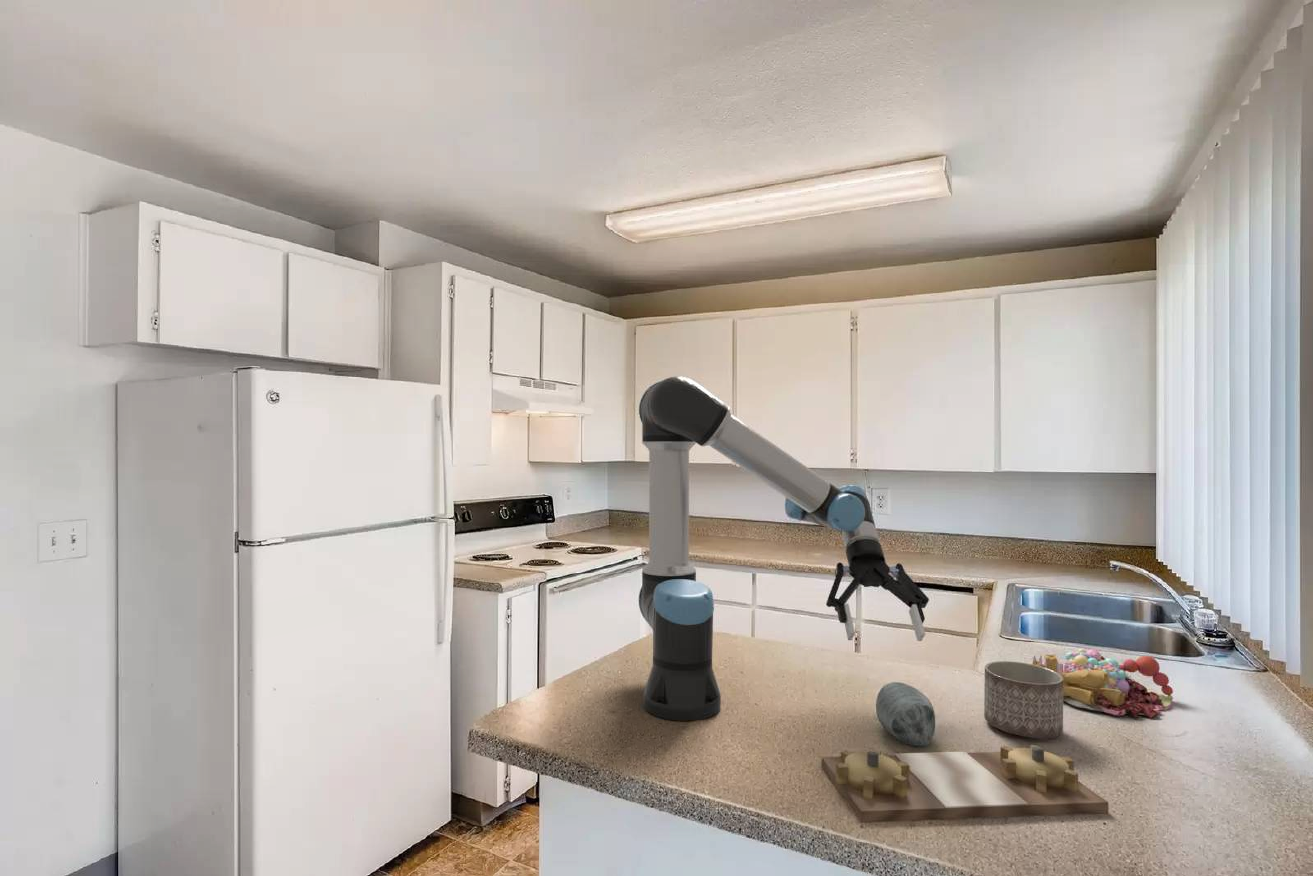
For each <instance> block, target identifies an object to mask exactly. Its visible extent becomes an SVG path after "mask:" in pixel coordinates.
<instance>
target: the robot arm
mask: <svg viewBox="0 0 1313 876" xmlns="http://www.w3.org/2000/svg"><path fill="white" fill-rule="evenodd" d="M638 415H639V418H640V421H641V424H642V427H641V430H642V431H641V432H642V434H641V436H642V437H641V438H642V439H641V441H642V442H641V443H642V444H643V446H644V447H646V448H647V450H648V451H649V453H648V454H649V455H648V456H649V457H648V458H649V459H648V460H649V461H648V462H649V463H648V465H649V466H648V467H649V471H648V472H649V475H648V476H649V477H648V478H649V479H648V481H649V482H648V484H649V486H648V488H649V489H648V493H649V495H648V496H649V497H648V499H649V501H648V502H649V503H648V505H649V508H648V509H649V511H648V517H649V519H648V525H649V526H648V537H649V538H648V540H649V541H648V548H649V549H648V553H649V554H648V555H649V557H648V559H649V560H648V562H647V564H645V565H644V567H643V568H642V569H641V574H642V575H641V587H640V589H639V594H638V606H639V610H640V611H639V612H640V613H641V615H642V617H643V619H644V620H645V621H646V623H647V624H648V626H649V627H650V629H651V630H652V667H651V669H650V671H649V675H648V678H647V681H646V683H645V688H644V689H643V694H642V707H643V709H644V710H645V711H646V712H648V713H649V714H650V715H652V716H655V717H658V718H662V719H666V720H672V721H683V722H684V721H686V722H687V721H698V720H703V719H707V718H710V717H713V716H714V715H716V714H718V713H719V712H720V710H721V705H722V704H721V703H722V700H721V699H722V696H721V693H720V689H719V686H718V682H717V679H716V675H715V672H714V669H713V640H714V639H713V635H714V632H713V631H714V611H715V604H714V595H713V592H712V590H711V588H710V587H709V586H708V585H706V584H704V583H702V582H699V581H697V569H696V568H695V566H694V565H693V564H691V562H690V450H691V449H692V448H693V447H694V446H695V444H697V445H699V446H700V447H706V446H710V447H711V448H712V449H714V450H715V451H717V452H718V453H720V454H721V455H723V456H724V457H726V458H727V459H728V460H730V461H731V462H733V463H735V464H736V465H737V466H739V467H740V468H742V469H743V470H745V471H746V472H747V473H749V474H750V475H753V476H754V477H755V478H757V479H758V480H760V482H763V483H764V484H766V485H767V486H769V487H770V488H772V489H773V490H775V491H776V492H778V493H779V494H781V495H782V496H784V497H785V502H784V511H785V514H786V515H787V517H788V518H790V519H792V520H798V521H799V522H801V521H803V522H807V523H812V524H815V525H820V526H824V527H826V528H830V529H833V530H835V531H837V532H840V534H841V536H842V542H843V546H844V549H845V556H846V560H847V563H848V565H844V564H843V563H842V562H837V564H836V567H835V569H834V575H835V576H834V577H835V578H834V581H833V584H832V586H831V589H830V592H829V593H828V594H829V595H828V597H827V600H826V603H825V605H826V607H828V608H831V607H832V608H834V611H835V612H836V613H837V616H838V617H837V618H838V621H839V623H840V624H844V628H845V632H846V635H847V641H853V639H854V637H855V634H856V632H855V628H854V627H855V626H854V622H853V619H852V613H851V609H850V605H849V603H847V602H848V601H849V599H850V598H851V596H852V595H853V594H854V592H855V591H856V590H857V589H858V588H859V586H860V585H861V586H863V587H864V588H869V587H873V588H879V587H881V588H883V590H885V591H889V592H890V593H891V594H892V595H894V596H895V597H896V598H897V599H898V600H899V601H901V602H902V603H904V604H905V605H906V606H907V607H908V608H909V611H908V614H909V617H910V620H911V624H912V626H913V629H914V630H913V631H914V634H915V636H916V640H917V642H922V641H923V639H924V637H925V636H926V631H925V628H924V625H923V624H924V622H925V621H926V620H925V619H926V617H925V614H924V611H923V609H925V608H926V606H927V605H928V604H929V601H930V598H929V597H928V596H927V595H926V594H925V592H924V591H923V590H922V589H921V588H920V587H919V586H918V585H917V584H916V583H915V581H914V580H913V579H912V578H911V577H910V576H909V574H908V573H907V572H906V571H905V569H904V566H903V564H901V563H896V565H894V566H892V565H891V566H889V565H888V564H887V562H886V559H885V554H884V550H883V548H882V545H881V540H880V538H879V537H880V536H879V533H878V530H877V528H876V523H875V520H874V516H873V512H872V508H871V503H870V501H869V499H868V496H867V494H866V492H865V490H864V489H863V488H862V487H861V486H859V485H856V484H850V485H843V486H840V487H836V486H835V485H834V484H832V483H830V482H829V481H828V480H827V479H825V478H824V477H822V476H821V475H819V474H817V473H816V472H815V471H814V470H812V469H810V467H809V466H808V467H807V466H806V465H805V464H803V463H802V462H800V461H799V460H797V458H795V457H793V456H792V455H790V454H789V453H788V452H786V451H785V450H783V449H781V448H780V447H779V446H777V445H776V444H775V443H773V442H772V441H770V440H769V439H768V438H766V437H765V436H763V435H761V434H760V433H759V432H757V431H756V430H754V429H753V428H751V427H750V426H749V425H747V424H746V423H744V422H743V421H742V420H740V419H738V417H736V416H734V415H733V414H732V413H731V408H730V406H729V405H727V404H726V403H725V402H723V401H722V400H721V399H720V398H718V397H716V396H715V395H714V394H712V393H711V392H710V391H708V390H707V389H706V388H705V387H703V386H702V385H700V384H699V383H697V382H696V381H694V380H692V379H691V378H687V377H683V376H671V377H667V378H664V379H663V380H660V381H658V382H656V383H654V384H652V385H650V386H649V387H648V388H646V390H645V391H644V393H643V394H642V397H641V399H640V402H639V405H638ZM847 573H848V574H849V575H850V576H851V577H852V578H853V579H852V581H851V582H850V583H849V584H848V586H847V587H846V588H845V590H844V591H843V592H842V594H841V595H840V596H839V597H838V598H836V596H837V593H838V590H839V587H840V584H841V582H842V579H843V577H845V576H846V575H847ZM895 578H896V580H897V581H896V580H895Z"/></svg>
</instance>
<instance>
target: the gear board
mask: <svg viewBox="0 0 1313 876" xmlns="http://www.w3.org/2000/svg"><path fill="white" fill-rule="evenodd" d="M820 760H821V766H820V767H821V768H822V769H823V770H824V772H825V774H826V775H827V776H828V778H829V779H830V781H831V782H832V783H833V785H834V786H835V787H836V789H837V790H838V792H839V793H840V795H841V796H842V797H843V799H844V800H845V801H846V803H847V805H848V806H849V807H850V809H851V811H853V813H854V815H855V816H856V817H857V819H858V820H859V821H860V823H875V822H876V823H877V822H879V823H881V822H896V821H897V822H904V821H908V822H909V821H931V820H932V821H933V820H956V819H957V820H958V819H961V820H962V819H981V818H984V819H985V818H1007V817H1008V818H1010V817H1011V818H1012V817H1035V816H1037V817H1039V816H1041V817H1042V816H1060V815H1061V816H1063V815H1065V816H1067V815H1087V814H1088V815H1089V814H1109V801H1108V800H1106V799H1104V798H1103V797H1102V796H1100V795H1099V794H1097V793H1096V792H1095V791H1093V790H1092V789H1090V788H1089V787H1087V786H1086V785H1084V784H1083V783H1082V782H1080V781H1079V772H1077V771H1075V760H1074V759H1072V758H1071V757H1069V756H1058V755H1056V754H1053V753H1051V752H1049V751H1045V749H1044V748H1042V747H1040V746H1038V745H1033V744H1030V745H1029V747H1018V748H1017V747H1016V748H1011V746H1010V747H1009V746H1007V745H1003V746H1000V751H983V752H982V751H980V752H966V751H942V752H941V751H940V752H937V751H935V752H907V753H903V752H902V753H893V754H882V750H879V749H874V748H873V749H872V751H866V752H865V751H864V752H863V751H862V752H852V751H849V750H847V749H845V750H841V751H840V755H839V756H835V755H834V756H821V759H820Z"/></svg>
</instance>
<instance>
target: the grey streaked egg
mask: <svg viewBox="0 0 1313 876" xmlns="http://www.w3.org/2000/svg"><path fill="white" fill-rule="evenodd" d="M875 709H876V711H875V712H876V713H875V714H876V716H877V720H878V722H879V723H880V725H881V726H882V727H883V728H884V729H885V730H886V731H888V732H889V733H890V734H891V736H894V737H895V738H897V739H898V740H900V741H901V742H903V743H905V744H907V745H911V746H914V747H915V746H916V747H920V748H921V747H925V746H927V745H929V744H930V743H931V741H932V739H933V737H934V735H935V732H936V731H935V729H936V714H935V713H936V712H935V710H934V706H933V705H932V702H931V701H930V699H929V698H928V697H927V696H926V695H925V694H924V693H923V692H922V691H920V690H919V689H917V688H915V687H914V686H913V685H912V686H911V685H910V684H907V683H903V682H900V681H899V682H895V681H893V682H889V683H886V684H884V686H882V687H881V689H880V690H879V692H878V694H877V696H876V702H875Z"/></svg>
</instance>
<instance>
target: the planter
mask: <svg viewBox="0 0 1313 876" xmlns="http://www.w3.org/2000/svg"><path fill="white" fill-rule="evenodd" d="M983 690H984V694H983V695H984V698H983V699H984V700H983V703H984V704H983V705H984V706H983V707H984V708H983V715H984V716H983V717H984V720H985V721H986V722H987V723H988V724H990V725H991V726H992V727H994V728H996V729H998V730H1001V731H1003V732H1005V733H1009V734H1011V735H1016V736H1020V737H1027V738H1032V739H1033V738H1034V739H1036V738H1037V739H1052V738H1056V737H1059V736H1061V734H1062V733H1063V731H1064V700H1063V677H1062V676H1061V675H1060V674H1059V673H1057V672H1055V671H1053V670H1051V669H1048V668H1045V667H1041V666H1038V665H1033V664H1032V663H1027V662H1022V661H1010V660H1008V661H1007V660H998V661H991V662H988V663H986V664H985V665H984V689H983Z"/></svg>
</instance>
